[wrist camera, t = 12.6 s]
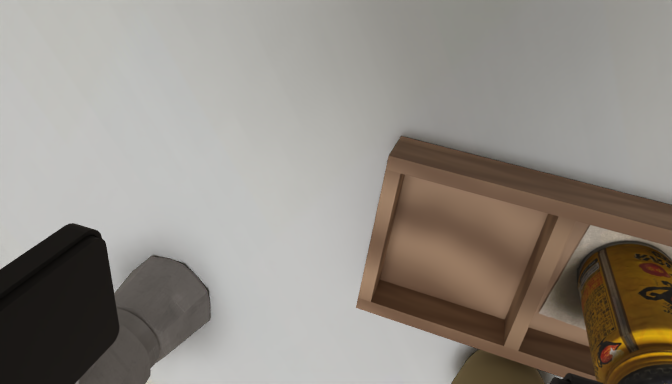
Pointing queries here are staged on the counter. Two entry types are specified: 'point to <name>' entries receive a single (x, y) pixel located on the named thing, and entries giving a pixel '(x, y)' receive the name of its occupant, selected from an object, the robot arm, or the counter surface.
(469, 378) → the squeeze bottle
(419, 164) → the caddy
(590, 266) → the condiment
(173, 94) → the counter surface
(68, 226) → the robot arm
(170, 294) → the coffeepot
